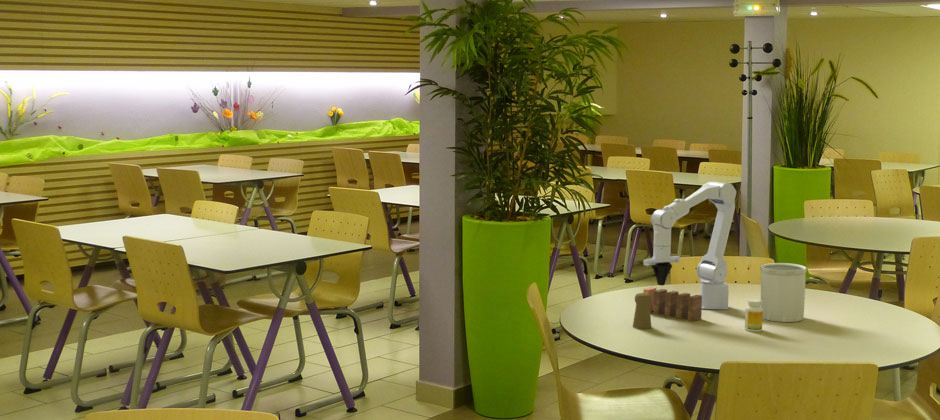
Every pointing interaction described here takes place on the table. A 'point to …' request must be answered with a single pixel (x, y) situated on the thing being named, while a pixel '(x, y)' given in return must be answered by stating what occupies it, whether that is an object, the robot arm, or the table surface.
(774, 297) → the utensil holder
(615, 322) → the table surface
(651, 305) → the domino
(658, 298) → the domino
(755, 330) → the supplement bottle
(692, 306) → the domino
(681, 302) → the domino
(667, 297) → the domino
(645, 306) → the cork
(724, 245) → the robot arm
